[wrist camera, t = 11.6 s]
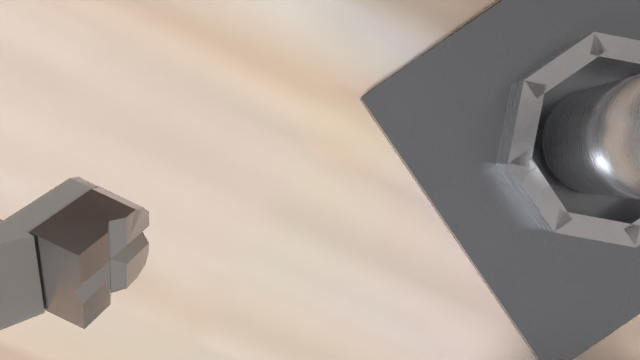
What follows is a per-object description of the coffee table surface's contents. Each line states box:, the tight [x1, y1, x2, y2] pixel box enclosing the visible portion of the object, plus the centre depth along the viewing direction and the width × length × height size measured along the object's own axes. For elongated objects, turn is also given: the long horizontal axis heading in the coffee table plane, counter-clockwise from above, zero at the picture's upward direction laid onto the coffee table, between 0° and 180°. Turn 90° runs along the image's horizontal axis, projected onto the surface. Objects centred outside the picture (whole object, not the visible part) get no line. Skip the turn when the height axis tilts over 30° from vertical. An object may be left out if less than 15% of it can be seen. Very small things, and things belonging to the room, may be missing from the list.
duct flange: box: [360, 0, 640, 360], centre depth 25 cm, size 16×16×2 cm
